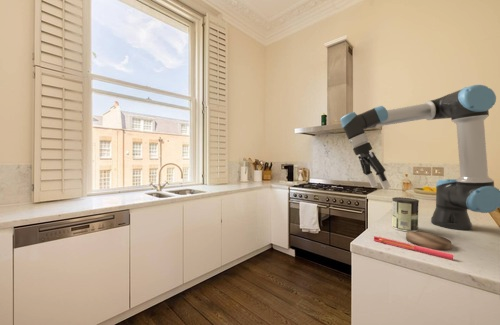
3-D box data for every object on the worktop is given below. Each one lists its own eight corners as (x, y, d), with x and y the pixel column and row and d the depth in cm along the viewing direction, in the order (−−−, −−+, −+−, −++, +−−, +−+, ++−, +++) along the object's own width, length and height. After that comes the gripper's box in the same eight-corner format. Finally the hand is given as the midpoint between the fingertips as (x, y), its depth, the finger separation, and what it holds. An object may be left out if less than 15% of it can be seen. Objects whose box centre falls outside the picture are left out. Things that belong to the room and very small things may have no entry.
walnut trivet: (427, 235, 95) (427, 231, 95) (462, 249, 81) (462, 244, 81) (397, 236, 93) (397, 232, 93) (427, 250, 79) (428, 245, 79)
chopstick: (375, 241, 91) (372, 240, 88) (376, 236, 91) (373, 235, 88) (454, 261, 74) (454, 261, 71) (455, 254, 74) (454, 254, 71)
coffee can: (411, 226, 109) (411, 197, 108) (422, 233, 99) (423, 201, 98) (387, 224, 111) (388, 196, 110) (397, 231, 101) (398, 200, 100)
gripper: (346, 151, 115) (363, 188, 113) (361, 144, 91) (383, 192, 88) (360, 145, 114) (378, 183, 112) (379, 136, 90) (402, 185, 87)
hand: (380, 187), depth 100 cm, fingers open, 13 cm apart
